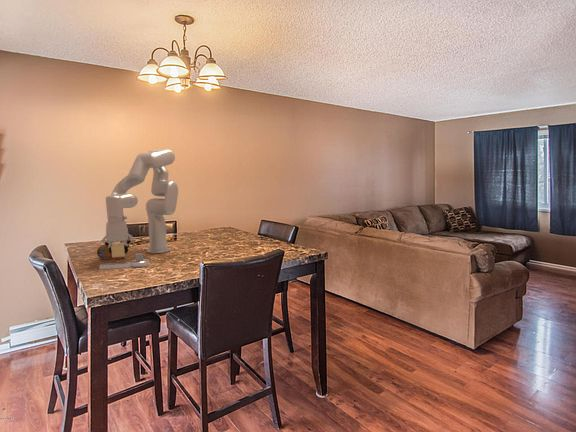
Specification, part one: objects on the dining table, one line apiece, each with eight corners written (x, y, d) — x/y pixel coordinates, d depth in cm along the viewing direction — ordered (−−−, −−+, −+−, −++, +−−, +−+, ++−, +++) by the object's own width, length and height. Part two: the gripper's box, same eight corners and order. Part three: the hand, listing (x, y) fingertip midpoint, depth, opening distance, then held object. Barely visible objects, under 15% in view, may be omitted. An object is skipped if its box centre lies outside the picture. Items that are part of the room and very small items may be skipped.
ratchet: (102, 266, 182) (101, 254, 181) (149, 262, 189) (149, 251, 188) (98, 271, 173) (97, 258, 172) (148, 267, 180) (148, 255, 179)
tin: (97, 260, 194) (96, 245, 193) (99, 259, 197) (98, 244, 196) (127, 259, 197) (126, 243, 196) (128, 257, 200) (127, 242, 199)
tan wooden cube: (113, 254, 190) (112, 243, 189) (126, 253, 191) (125, 242, 190) (112, 257, 184) (111, 246, 183) (124, 256, 186) (123, 245, 185)
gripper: (134, 217, 191) (137, 250, 194) (98, 219, 186) (102, 253, 188) (133, 219, 184) (136, 253, 187) (95, 221, 178) (99, 257, 181)
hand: (119, 253), depth 187 cm, fingers closed on tan wooden cube, 6 cm apart
